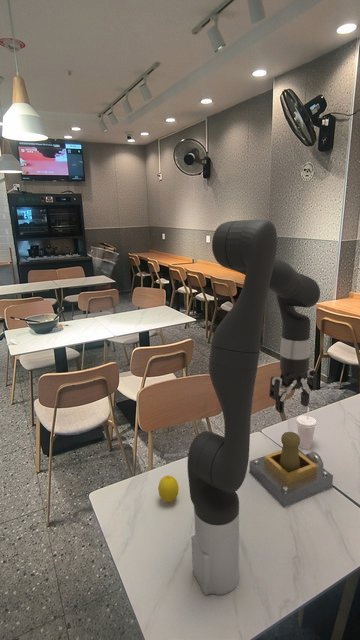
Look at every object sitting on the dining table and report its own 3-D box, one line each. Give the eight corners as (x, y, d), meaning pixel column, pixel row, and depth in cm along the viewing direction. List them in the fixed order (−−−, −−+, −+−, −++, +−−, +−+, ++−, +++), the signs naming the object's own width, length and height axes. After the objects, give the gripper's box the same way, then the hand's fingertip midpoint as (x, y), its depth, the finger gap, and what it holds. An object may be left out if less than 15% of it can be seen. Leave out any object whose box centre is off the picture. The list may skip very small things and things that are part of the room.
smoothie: (319, 448, 122) (321, 410, 119) (303, 453, 120) (305, 414, 116) (306, 438, 128) (308, 402, 124) (291, 443, 126) (292, 406, 122)
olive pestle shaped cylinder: (301, 475, 103) (303, 441, 100) (279, 473, 104) (280, 439, 102) (299, 462, 109) (300, 429, 106) (278, 460, 110) (279, 428, 107)
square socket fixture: (284, 507, 97) (284, 486, 96) (249, 472, 112) (249, 453, 110) (336, 485, 105) (337, 466, 103) (297, 455, 119) (298, 437, 117)
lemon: (166, 491, 105) (164, 467, 103) (182, 498, 102) (181, 473, 100) (155, 504, 100) (153, 479, 98) (172, 511, 98) (170, 485, 96)
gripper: (282, 362, 92) (280, 420, 96) (325, 353, 98) (321, 408, 102) (264, 353, 99) (263, 408, 103) (305, 345, 104) (302, 397, 108)
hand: (292, 408), depth 102 cm, fingers open, 8 cm apart
